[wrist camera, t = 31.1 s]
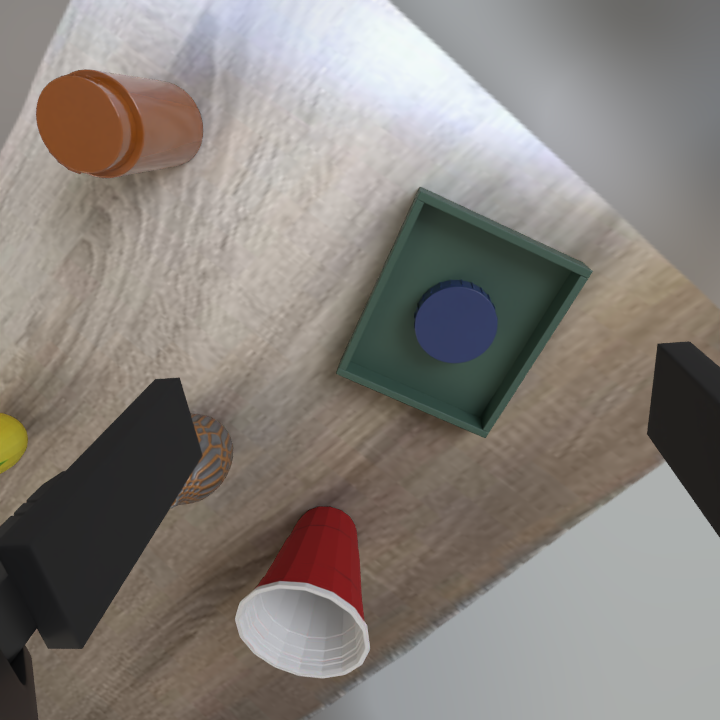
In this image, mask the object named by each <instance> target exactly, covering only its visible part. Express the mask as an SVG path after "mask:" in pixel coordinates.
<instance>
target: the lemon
mask: <svg viewBox="0 0 720 720" xmlns="http://www.w3.org/2000/svg"><path fill="white" fill-rule="evenodd" d="M27 443H28V437H27V432H26V429H25V428H24V426H23V425H22V424H21V423H20V422H19V421H18V420H17V419H15V418H13V417H11V416H9V415H6V414H3V413H0V474H1V473H3V472H4V471H6V470H7V469H9V468H11V467H12V466H13V465H15V464H16V463H17V462H18V461H19V460H20V458H21V457H22V455H23V454H24V452H25V451H26V448H27Z"/></svg>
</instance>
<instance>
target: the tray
mask: <svg viewBox="0 0 720 720" xmlns="http://www.w3.org/2000/svg"><path fill="white" fill-rule="evenodd" d="M592 272H593V271H592V270H591V269H590V268H588V267H587V266H586V265H585V264H584V263H583V262H581V261H579V260H576V259H574V258H572V257H570V256H568V255H566V254H564V253H561V252H559V251H557V250H555V249H553V248H551V247H549V246H546V245H544V244H542V243H540V242H538V241H536V240H534V239H531V238H529V237H527V236H525V235H523V234H521V233H519V232H516V231H514V230H512V229H510V228H508V227H506V226H504V225H501V224H499V223H497V222H495V221H493V220H491V219H489V218H486V217H484V216H482V215H480V214H478V213H476V212H473V211H471V210H469V209H467V208H465V207H463V206H461V205H458V204H456V203H454V202H452V201H450V200H448V199H446V198H443V197H441V196H439V195H437V194H435V193H433V192H431V191H428V190H426V189H424V188H422V187H420V188H419V190H418V193H417V195H416V197H415V199H414V201H413V203H412V206H411V208H410V210H409V212H408V214H407V217H406V219H405V221H404V223H403V225H402V227H401V230H400V232H399V234H398V236H397V238H396V241H395V243H394V245H393V247H392V249H391V251H390V254H389V256H388V258H387V260H386V262H385V265H384V267H383V269H382V271H381V273H380V275H379V278H378V280H377V282H376V284H375V286H374V289H373V291H372V293H371V295H370V297H369V299H368V302H367V304H366V306H365V308H364V310H363V313H362V315H361V317H360V319H359V321H358V323H357V326H356V328H355V330H354V332H353V334H352V337H351V339H350V341H349V343H348V345H347V347H346V350H345V352H344V354H343V356H342V358H341V361H340V363H339V366H338V369H337V372H336V374H338V375H340V376H342V377H345V378H347V379H349V380H352V381H354V382H356V383H359V384H361V385H363V386H366V387H368V388H370V389H373V390H375V391H377V392H379V393H382V394H384V395H386V396H389V397H391V398H393V399H396V400H398V401H400V402H403V403H405V404H407V405H410V406H412V407H414V408H417V409H419V410H421V411H424V412H426V413H428V414H430V415H433V416H435V417H437V418H440V419H442V420H444V421H447V422H449V423H451V424H454V425H456V426H458V427H461V428H463V429H465V430H468V431H470V432H472V433H474V434H477V435H479V436H481V437H484V438H486V436H487V435H488V433H489V432H490V430H491V429H492V427H493V426H494V424H495V423H496V421H497V419H498V418H499V416H500V415H501V413H502V412H503V410H504V409H505V407H506V405H507V404H508V402H509V401H510V399H511V398H512V396H513V395H514V393H515V391H516V390H517V388H518V387H519V385H520V384H521V382H522V381H523V379H524V377H525V376H526V374H527V373H528V371H529V370H530V368H531V367H532V365H533V363H534V362H535V360H536V359H537V357H538V356H539V354H540V353H541V351H542V350H543V348H544V346H545V345H546V343H547V342H548V340H549V339H550V337H551V336H552V334H553V332H554V331H555V329H556V328H557V326H558V325H559V323H560V322H561V320H562V318H563V317H564V315H565V314H566V312H567V311H568V309H569V308H570V306H571V304H572V303H573V301H574V300H575V298H576V297H577V295H578V294H579V292H580V291H581V289H582V287H583V286H584V284H585V283H586V281H587V280H588V279H587V278H589V277H590V275H591V273H592ZM450 279H451V280H461V279H462V280H463V281H467V282H470V283H471V282H473V284H475V285H477V286H478V287H482V289H483V291H485V293H486V294H487V295H488V294H489V296H490V299H491V302H492V303H493V304H494V306H495V309H496V310H495V312H496V315H497V318H498V320H497V321H498V324H497V332H496V336H495V338H494V340H493V342H492V344H491V345H490V346H489V348H488V349H487V350H486V351H485V352H484V353H483V354H481V355H480V356H478V357H477V358H475V359H473V360H470V361H467V362H463V363H447V362H442V361H439V360H437V359H435V358H433V357H432V356H430V355H429V354H428V353H426V352H425V351H424V350H423V348H422V347H421V346H420V344H419V342H418V340H417V338H416V333H415V329H414V322H415V319H414V313H415V312H416V308H417V303H419V301H420V299H421V298H422V295H423V294H425V293H426V292H427V291H428V290H429V289H430V287H431V288H432V287H433V286H435V285H437V284H439V282H441V283H442V282H445V281H450Z"/></svg>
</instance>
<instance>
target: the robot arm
mask: <svg viewBox="0 0 720 720" xmlns="http://www.w3.org/2000/svg"><path fill="white" fill-rule="evenodd" d="M647 435H648V436H649V438H650V439H651V440H652V442H653V443H654V445H655V446H656V448H657V449H658V450H659V452H660V453H661V455H662V456H663V457H664V459H665V460H666V462H667V463H668V465H669V466H670V467H671V469H672V470H673V472H674V473H675V475H676V476H677V477H678V479H679V480H680V482H681V483H682V485H683V486H684V487H685V489H686V490H687V491H688V493H689V494H690V496H691V497H692V499H693V500H694V502H695V503H696V504H697V506H698V507H699V509H700V510H701V512H702V513H703V514H704V516H705V517H706V519H707V520H708V522H709V523H710V524H711V526H712V527H713V529H714V530H715V532H716V533H717V534H718V536H719V537H720V367H719V366H718V365H716V364H715V363H714V362H713V361H712V360H711V359H709V358H708V357H707V356H706V355H705V354H704V353H703V352H701V351H700V350H699V349H698V348H697V347H696V346H694V345H693V344H692V343H691V342H676V343H662V344H658V345H657V354H656V363H655V371H654V380H653V388H652V397H651V405H650V414H649V422H648V431H647ZM202 456H203V454H202V451H201V448H200V444H199V441H198V438H197V434H196V431H195V428H194V424H193V421H192V418H191V414H190V411H189V408H188V404H187V401H186V398H185V394H184V391H183V388H182V384H181V381H180V378H167V379H155V380H154V381H153V382H152V383H151V384H150V385H149V386H148V387H147V388H146V389H145V390H144V391H143V392H142V393H141V394H140V395H139V396H138V397H137V398H136V400H135V401H134V402H133V403H132V404H131V405H130V406H129V407H128V408H127V409H126V410H125V411H124V412H123V413H122V414H121V415H120V416H119V417H118V418H117V419H116V420H115V421H114V422H113V423H112V424H111V425H110V426H109V427H108V428H107V429H106V430H105V431H104V432H103V433H102V434H101V435H100V436H99V437H98V438H97V439H96V441H95V442H94V443H93V444H92V445H91V446H90V447H89V448H88V449H87V450H86V451H85V452H84V453H83V454H82V455H81V456H80V457H79V458H78V459H77V460H76V461H75V462H74V463H73V464H72V465H71V466H70V467H69V468H68V469H67V470H66V471H63V472H61V473H60V474H58V475H57V476H55V477H54V478H52V479H50V480H49V481H47V482H46V483H44V484H43V485H42V486H41V487H40V488H39V489H38V490H37V491H36V492H35V493H34V494H33V495H31V496H30V497H29V498H28V499H27V503H23V504H22V505H21V506H20V507H19V508H18V509H17V510H16V511H15V512H14V516H10V517H9V518H8V519H7V520H6V521H5V522H4V523H3V524H2V525H1V526H0V720H38V713H37V704H36V695H35V685H34V676H33V667H32V658H31V655H30V653H29V651H28V649H27V648H26V646H25V644H26V642H27V641H28V640H29V638H30V637H31V636H32V634H33V633H34V632H35V630H36V629H38V631H39V633H40V635H41V637H42V638H43V640H44V642H45V644H46V646H47V648H48V649H82V648H83V647H84V645H85V644H86V642H87V640H88V639H89V637H90V636H91V634H92V632H93V631H94V629H95V628H96V626H97V624H98V623H99V621H100V620H101V618H102V616H103V615H104V613H105V612H106V610H107V608H108V607H109V605H110V604H111V602H112V600H113V599H114V597H115V595H116V594H117V592H118V591H119V589H120V587H121V586H122V584H123V583H124V581H125V579H126V578H127V576H128V575H129V573H130V571H131V570H132V568H133V567H134V565H135V563H136V562H137V560H138V559H139V557H140V555H141V554H142V552H143V551H144V549H145V547H146V546H147V544H148V543H149V541H150V539H151V538H152V536H153V535H154V533H155V531H156V530H157V528H158V527H159V525H160V523H161V522H162V520H163V519H164V517H165V515H166V514H167V512H168V511H169V509H170V507H171V506H172V504H173V502H174V501H175V499H176V498H177V496H178V494H179V493H180V491H181V490H182V488H183V486H184V485H185V483H186V482H187V480H188V478H189V477H190V475H191V474H192V472H193V470H194V469H195V467H196V466H197V464H198V462H199V461H200V459H201V458H202Z"/></svg>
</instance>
